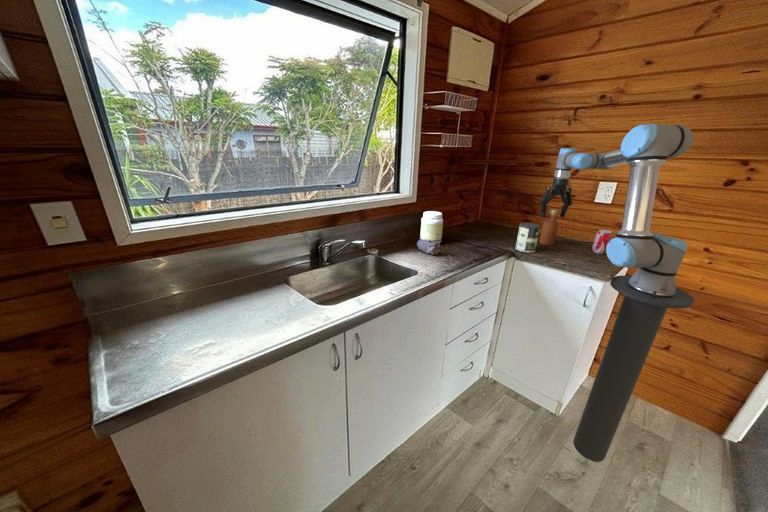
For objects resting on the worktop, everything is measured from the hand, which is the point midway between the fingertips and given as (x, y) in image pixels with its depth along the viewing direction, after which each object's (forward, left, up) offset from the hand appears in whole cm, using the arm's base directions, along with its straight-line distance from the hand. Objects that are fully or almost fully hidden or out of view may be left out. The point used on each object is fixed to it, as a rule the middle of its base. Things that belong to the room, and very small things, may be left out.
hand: (552, 217), depth 173 cm
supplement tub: (-55, +42, -16) cm, 71 cm away
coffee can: (-22, +2, -16) cm, 27 cm away
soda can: (+7, -25, -16) cm, 30 cm away
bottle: (0, 0, -16) cm, 16 cm away
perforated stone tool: (-70, +31, -16) cm, 78 cm away
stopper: (0, 0, -3) cm, 3 cm away
